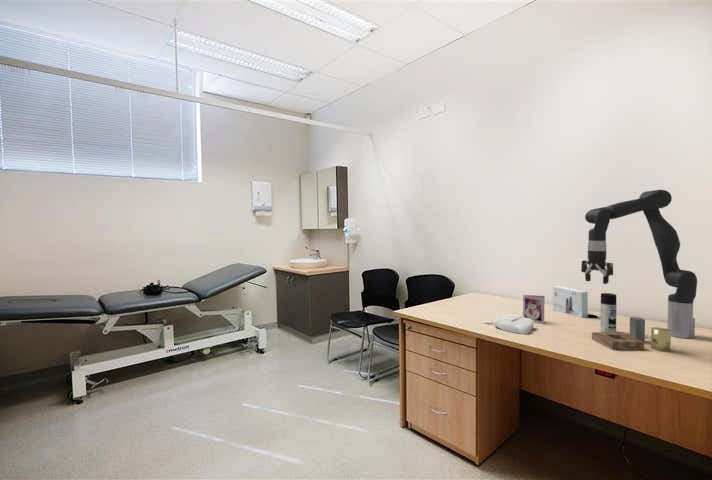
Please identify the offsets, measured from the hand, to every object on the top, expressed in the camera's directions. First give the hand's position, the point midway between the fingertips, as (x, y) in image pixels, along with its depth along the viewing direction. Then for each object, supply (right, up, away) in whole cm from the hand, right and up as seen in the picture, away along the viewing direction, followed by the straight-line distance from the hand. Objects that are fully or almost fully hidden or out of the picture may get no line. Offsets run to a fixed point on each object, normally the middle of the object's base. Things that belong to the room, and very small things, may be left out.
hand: (596, 282), depth 169 cm
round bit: (+18, -28, -15) cm, 37 cm away
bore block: (+3, -28, -8) cm, 29 cm away
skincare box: (+17, -26, +48) cm, 57 cm away
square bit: (+17, -28, -4) cm, 33 cm away
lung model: (-36, -28, +20) cm, 49 cm away
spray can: (+13, -27, +10) cm, 32 cm away
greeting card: (-14, -27, +31) cm, 43 cm away
